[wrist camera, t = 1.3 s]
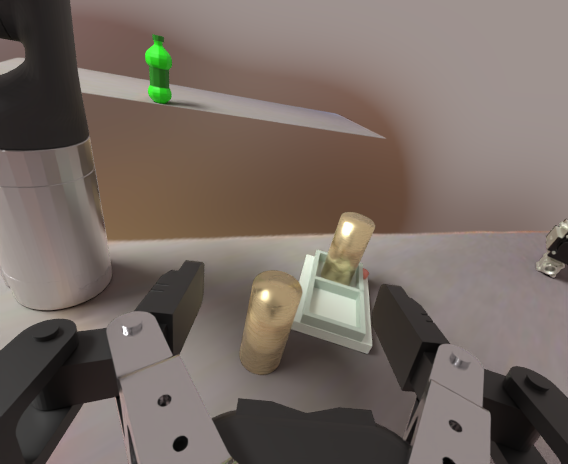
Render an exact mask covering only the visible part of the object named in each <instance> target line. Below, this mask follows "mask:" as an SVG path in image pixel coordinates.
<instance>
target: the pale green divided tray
mask: <svg viewBox="0 0 568 464" xmlns="http://www.w3.org/2000/svg"><path fill="white" fill-rule="evenodd" d="M327 254H328V253H327V252H323V251H320V250H317V251H316V254H315V257H313V256H310V255H306V258H305V262H304V265H303V269H302V273H301V277H300V280H299V283H300V285H301V287H302V297H301V300H300V303H299V306H298V309H297V312H296V315H295V318H294V321H293V324H292V327H291V329H292V330H296V331H299V332H302V333H305V334H308V335H311V336H314V337H317V338H320V339H323V340H326V341H329V342H332V343H335V344H339V345H342V346H345V347H348V348H351V349H354V350H357V351H360V352H363V353H366V354H368V353H369V351H370V349H371V348H372V334H371V320H370V305H369V291H368V275H369V272H368V271H367V270H366V269H364V268H363V263H359V265H358V267H357V269H356V272H355V274H354V276H353V278H352V281H351V283H350V285H349V286H347V285H343V284H340V283H337V282H334V281H330V280H327V279H324V278H321V271H322V268H323V266H324V263H325V260H326V257H327Z"/></svg>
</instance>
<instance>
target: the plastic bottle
mask: <svg viewBox="0 0 568 464" xmlns="http://www.w3.org/2000/svg"><path fill="white" fill-rule="evenodd" d="M153 40H154V45H153V46H152V47H151V48H149V49H148V50H147V51H146V55H145V58H146V62H147V64H148V65H149V71H150V86H149V88H148V94H149V96H150V97H151V99H152V100H154V102H157V103H164V104H165V103H166V102H168V101H169V100H170V99H171V91H170V88H169V69H170V68H171V66H172V59H171V57H170V55H169V54H168V52H167V51H166V50H165V49H164V48H163V46H162V42H164V37H162V36H158V35H153Z"/></svg>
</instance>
